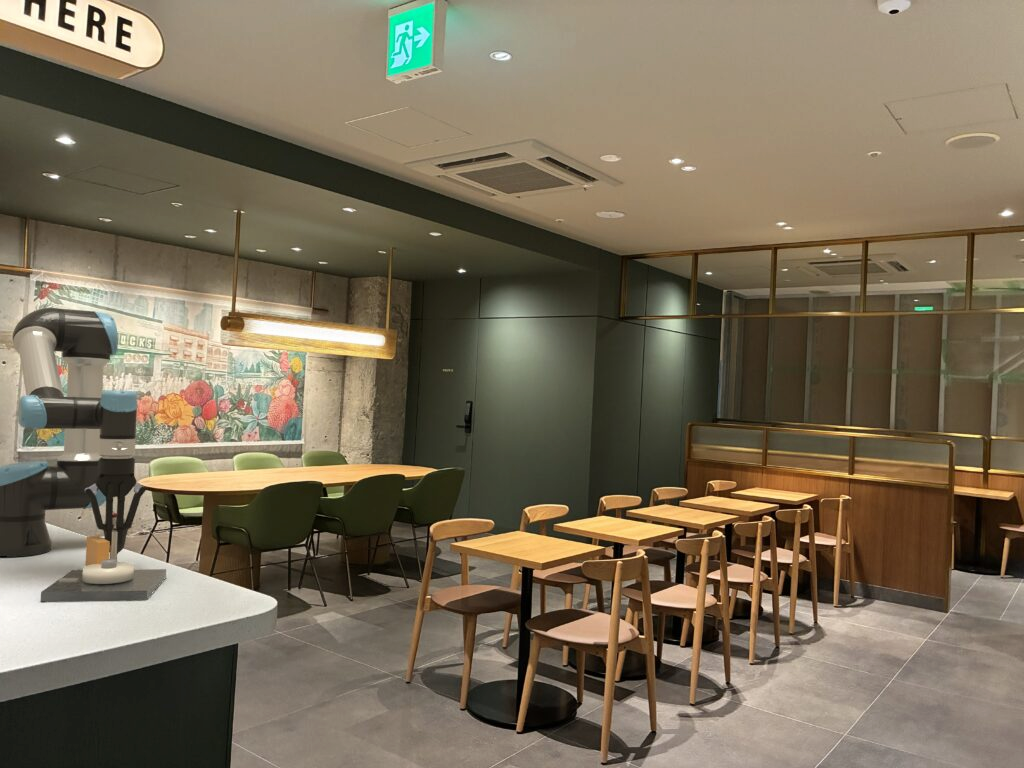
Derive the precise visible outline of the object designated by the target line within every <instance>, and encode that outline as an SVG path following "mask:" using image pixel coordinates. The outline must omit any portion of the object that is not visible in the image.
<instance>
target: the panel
mask: <svg viewBox="0 0 1024 768" xmlns="http://www.w3.org/2000/svg"><path fill="white" fill-rule="evenodd" d="M82 575H83V569H71V570H70V571H69V572H68V573H66V574H65V575H64V576H62V577H61V578H59V579H58V580H56V581H55V582H53V583H52V584H50V585H48V586H47V587H46V588H45V589H43V590H42V591H40V601H48V603H50V602H51V603H53V602H54V603H59V602H60V601H62V602H63V601H64V602H104V601H105V602H107V601H108V602H109V601H110V602H111V601H114V602H115V601H118V602H120V601H121V602H122V601H123V602H124V600H125V601H147V600H148V599H149V598H150V597H151V596H150V595H153V593H154V592H155V591H156V590H157V589H158V588H157V587H160V585H161V584H162V583H163V582H164V581H165V579H166V578H167V569H165V568H164V569H163V568H162V569H160V568H159V569H157V568H155V569H154V568H153V569H150V568H149V569H146V568H145V569H142V568H141V569H137V568H136V569H134V577H133V579H131V580H128V581H125V582H119V583H111V584H91V583H86V582H83V581H82ZM165 577H166V578H165ZM164 578H165V579H164ZM163 580H164V581H163ZM162 581H163V582H162ZM161 582H162V583H161ZM160 583H161V584H160ZM159 584H160V585H159ZM156 588H157V589H156ZM155 589H156V590H155ZM154 590H155V591H154ZM153 591H154V592H153ZM152 592H153V593H152ZM149 596H150V597H149ZM148 597H149V598H148ZM58 601H59V602H58ZM60 603H61V602H60Z"/></svg>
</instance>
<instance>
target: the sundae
mask: <svg viewBox="0 0 1024 768" xmlns="http://www.w3.org/2000/svg"><path fill="white" fill-rule="evenodd" d="M116 518H117V512H114V511H113V526H112V530H116ZM125 521H126V518H124V521H123V523H124V522H125ZM103 524H105V521H103ZM132 527H133V525H132V526H131V527H130V528H126V529H124V530H123V535H122V544H121V545H117V555H118V554H119V553H120V552H122V551H123V549H124V548H125V545H126V539H127V535H128V531H129V529H132ZM102 531H103V535H104V537H105V531H104V530H102ZM109 553H110V549H109ZM116 559H117V560H118V556H117V557H116Z"/></svg>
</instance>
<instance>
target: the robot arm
mask: <svg viewBox="0 0 1024 768" xmlns="http://www.w3.org/2000/svg"><path fill="white" fill-rule="evenodd" d="M12 344H13V348H14V350H15V352H16V353H17V354H18V355H19V359H20V365H21V371H22V375H23V384H24V388H25V395H22V396H20V399H19V401H18V406H17V407H18V409H17V420H18V424H19V426H20V427H21V428H26V429H36V430H46V429H48V430H49V429H55V430H59V429H62V430H63V429H64V439H63V440H64V443H63V453H62V454H60V456H59V457H58V458H57V459H56V465H54V466H53V465H51V466H50V464H49V462H48V461H47V460H30V461H23V462H22V461H21V462H15V463H10V464H4V465H1V466H0V556H7V557H6V558H17V557H18V556H19V557H27V556H28V557H29V556H35V555H42V554H44V553H48V552H50V551H51V550H52V541H51V540H52V539H51V537H50V534H49V530H48V527H47V524H46V511H50V510H51V511H52V510H53V511H54V510H56V511H57V510H75V509H83V510H86V509H91V510H92V513H93V517H94V520H95V524H96V528H98V529H99V530H101V531H103V530H104V531H105V536H104V539H105V540H107V541H110V552H109V559H116V557H117V558H118V554H117V545H121V544H122V535H123V530H124V529H126V528H130V527H131V526H132V527H133V523H134V520H135V516H136V513H137V510H138V508H139V507H138V506H139V504H140V501H141V498H142V496H143V494H144V493H145V492H146V491H147V488H146V486H144V485H142V484H140V483H139V482H137V479H136V476H135V470H136V468H135V467H136V466H135V465H136V458H134V457H133V456H135V455H136V439H137V438H136V434H137V415H138V413H137V412H138V411H137V410H138V406H139V405H138V395H137V393H136V391H134V390H112V389H111V390H104V391H103V388H104V387H103V385H104V368H105V366H106V365H107V364H109V363H110V362H111V356H115V355H117V352H118V350H119V349H118V348H119V347H118V345H119V336H118V329H117V324H116V322H115V319H114V317H113V316H112V315H111V314H108V313H105V312H99V311H96V310H83V309H82V310H80V309H79V310H78V309H69V308H68V309H67V308H58V307H44V308H39V309H36V310H34V311H31V312H30V313H28V314H26V315H25V316H23V317H22V318H21V319H20V320H19V322H17V324H16V325H15V327H14V329H13V332H12ZM56 352H61V359H62V360H63V361H64V362H65V363H66V364H67V380H66V381H67V383H66V396H65V395H64V390H63V385H62V381H61V377H60V372H59V367H58V363H57V359H56V358H57V357H56ZM132 489H133V492H134V494H133V496H132V500H131V503H130V505H129V508H128V509H129V510H128V512H127V515H126V518H124V517H125V501H126V496H128V495H129V494H130V492H131V491H132ZM114 498H117V502H116V503H117V504H116V514H117V518H116V530H112V526H113V514H114V513H113V512H114ZM104 504H105V519H104V520H105V521H103V518H102V514H101V510H100V507H102V506H103V505H104ZM124 519H125V522H124V523H123V521H124ZM104 522H105V524H104ZM130 529H131V528H130ZM104 531H103V532H104ZM10 556H11V557H10Z"/></svg>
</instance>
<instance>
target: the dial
mask: <svg viewBox="0 0 1024 768" xmlns="http://www.w3.org/2000/svg"><path fill="white" fill-rule="evenodd" d="M85 547H86V549H85V551H86V552H85V565H84V567H83V568H82V570H83V575H82V581H83V582H86V583H91V584H111V583H119V582H125V581H128V580H131V579H133V577H134V570H135V565H134V564H133V563H130V562H125V561H124V562H123V561H122V562H120V561H118V558H117V559H110V552H109V549H110V541H107V540H105V538H103V537H101V536H99V535H96V536H87V537H86V546H85Z"/></svg>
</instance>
